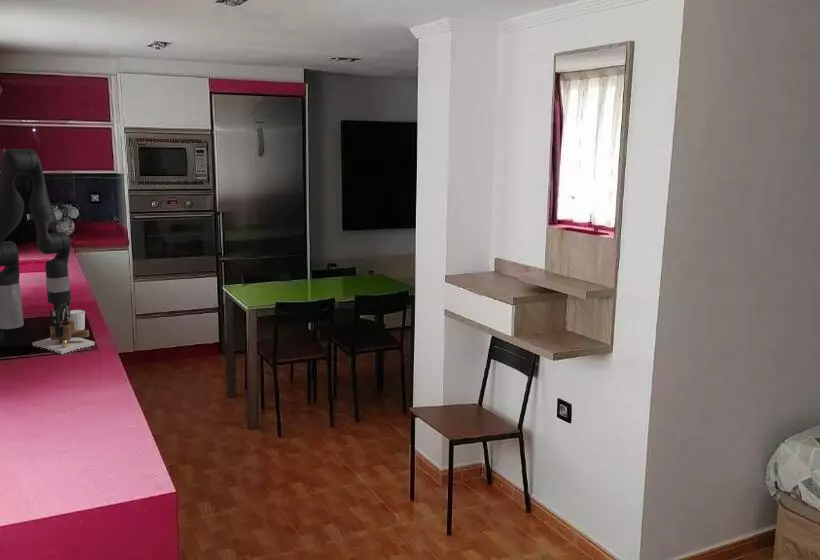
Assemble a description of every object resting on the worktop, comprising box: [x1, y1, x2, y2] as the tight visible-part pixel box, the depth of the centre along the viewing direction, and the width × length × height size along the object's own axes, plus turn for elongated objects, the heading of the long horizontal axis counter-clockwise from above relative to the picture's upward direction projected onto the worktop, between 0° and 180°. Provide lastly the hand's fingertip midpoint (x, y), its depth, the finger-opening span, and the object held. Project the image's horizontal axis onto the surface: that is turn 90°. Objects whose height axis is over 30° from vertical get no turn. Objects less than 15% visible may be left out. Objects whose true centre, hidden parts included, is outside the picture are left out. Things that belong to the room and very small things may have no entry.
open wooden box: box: [49, 321, 90, 340], centre depth 261 cm, size 12×6×5 cm, turn 99°
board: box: [31, 337, 96, 355], centre depth 262 cm, size 17×13×1 cm
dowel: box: [62, 340, 67, 348], centre depth 256 cm, size 2×2×2 cm
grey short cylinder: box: [69, 309, 86, 330], centre depth 281 cm, size 7×7×7 cm
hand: (62, 334), depth 261 cm, fingers closed on open wooden box, 6 cm apart
